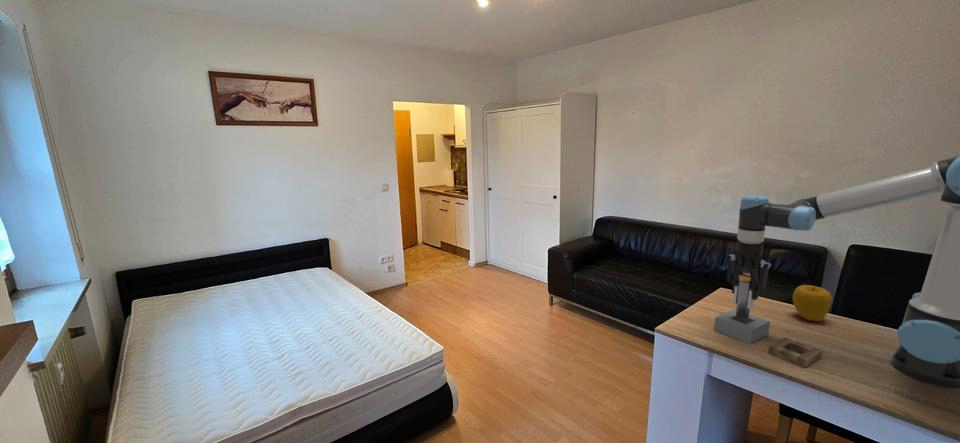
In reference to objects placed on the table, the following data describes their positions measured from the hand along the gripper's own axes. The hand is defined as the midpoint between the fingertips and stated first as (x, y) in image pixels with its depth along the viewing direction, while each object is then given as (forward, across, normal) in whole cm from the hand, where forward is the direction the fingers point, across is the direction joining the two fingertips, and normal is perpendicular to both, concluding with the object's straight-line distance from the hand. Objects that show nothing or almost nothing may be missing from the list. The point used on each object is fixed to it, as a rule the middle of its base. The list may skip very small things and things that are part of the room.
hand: (743, 304), depth 136 cm
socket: (+10, 0, 0) cm, 10 cm away
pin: (+4, 0, 0) cm, 4 cm away
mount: (+10, -17, +2) cm, 20 cm away
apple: (+11, -8, -31) cm, 34 cm away
